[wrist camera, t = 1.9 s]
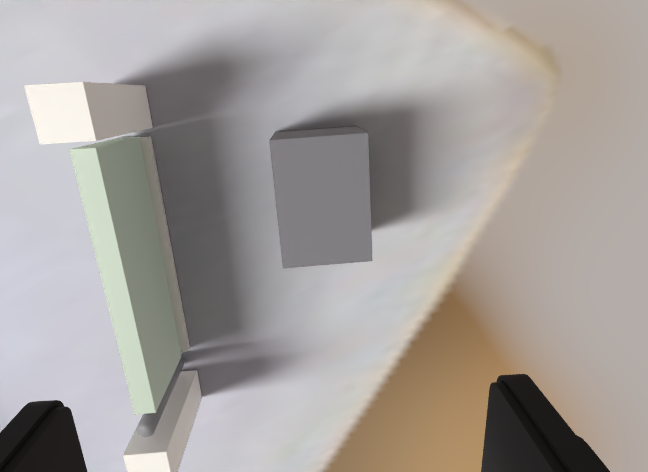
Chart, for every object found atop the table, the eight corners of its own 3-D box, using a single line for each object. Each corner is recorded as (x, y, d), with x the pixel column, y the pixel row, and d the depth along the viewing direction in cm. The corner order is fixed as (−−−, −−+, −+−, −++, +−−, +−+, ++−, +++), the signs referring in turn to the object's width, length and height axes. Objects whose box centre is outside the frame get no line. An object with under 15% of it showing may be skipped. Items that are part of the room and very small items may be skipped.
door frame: (103, 88, 25) (24, 85, 18) (145, 85, 25) (82, 82, 18) (169, 400, 32) (131, 487, 25) (201, 397, 32) (173, 484, 25)
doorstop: (275, 131, 26) (269, 140, 22) (356, 125, 26) (368, 133, 22) (286, 239, 28) (283, 268, 24) (360, 233, 29) (372, 261, 24)
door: (121, 137, 25) (64, 150, 19) (141, 135, 25) (91, 148, 19) (169, 369, 31) (136, 437, 24) (186, 368, 31) (157, 436, 25)
